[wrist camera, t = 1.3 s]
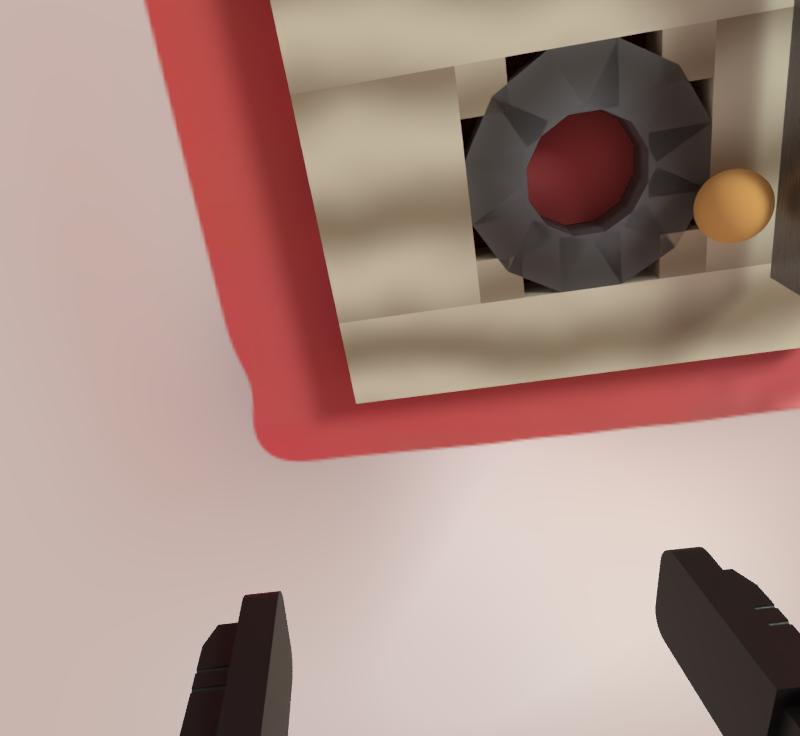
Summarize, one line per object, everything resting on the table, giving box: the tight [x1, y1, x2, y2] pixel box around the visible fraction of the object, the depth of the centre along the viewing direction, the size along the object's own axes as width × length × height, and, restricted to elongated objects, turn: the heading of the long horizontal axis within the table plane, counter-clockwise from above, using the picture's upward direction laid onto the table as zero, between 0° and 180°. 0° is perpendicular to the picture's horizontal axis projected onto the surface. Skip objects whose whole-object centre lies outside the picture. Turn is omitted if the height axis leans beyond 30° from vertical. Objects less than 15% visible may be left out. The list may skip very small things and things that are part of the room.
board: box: [270, 0, 800, 404], centre depth 33 cm, size 26×28×2 cm
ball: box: [693, 168, 775, 243], centre depth 31 cm, size 4×4×4 cm
